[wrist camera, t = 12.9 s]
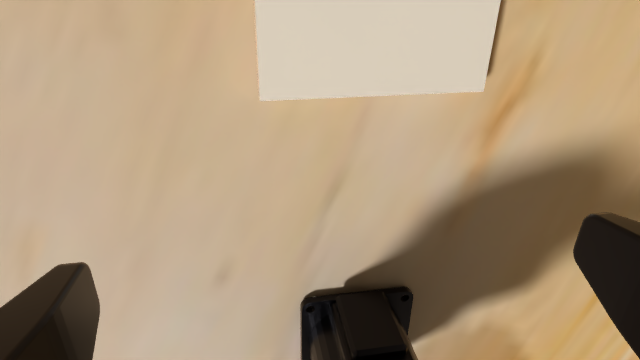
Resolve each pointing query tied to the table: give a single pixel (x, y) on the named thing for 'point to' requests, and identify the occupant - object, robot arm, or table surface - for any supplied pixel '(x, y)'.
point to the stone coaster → (372, 47)
